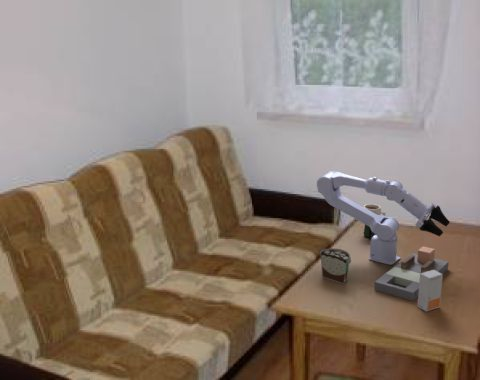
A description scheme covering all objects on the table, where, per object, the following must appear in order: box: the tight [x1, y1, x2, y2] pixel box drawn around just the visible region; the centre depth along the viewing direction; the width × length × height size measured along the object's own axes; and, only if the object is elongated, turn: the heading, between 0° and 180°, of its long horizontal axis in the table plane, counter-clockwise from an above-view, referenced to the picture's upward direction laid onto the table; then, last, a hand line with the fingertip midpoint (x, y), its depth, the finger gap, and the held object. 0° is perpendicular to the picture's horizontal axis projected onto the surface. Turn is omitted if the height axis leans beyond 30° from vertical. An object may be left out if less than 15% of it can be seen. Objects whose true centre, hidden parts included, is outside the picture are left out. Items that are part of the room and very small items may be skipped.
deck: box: [374, 252, 449, 302], centre depth 224 cm, size 14×30×3 cm, turn 141°
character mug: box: [363, 203, 386, 239], centre depth 262 cm, size 11×7×13 cm, turn 70°
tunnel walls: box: [400, 254, 435, 273], centre depth 226 cm, size 9×8×2 cm
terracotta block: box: [417, 246, 436, 264], centre depth 231 cm, size 4×4×4 cm
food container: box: [318, 248, 352, 285], centre depth 226 cm, size 12×6×10 cm, turn 47°
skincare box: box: [417, 270, 444, 312], centre depth 203 cm, size 6×4×12 cm
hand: (444, 229), depth 227 cm, fingers open, 7 cm apart
